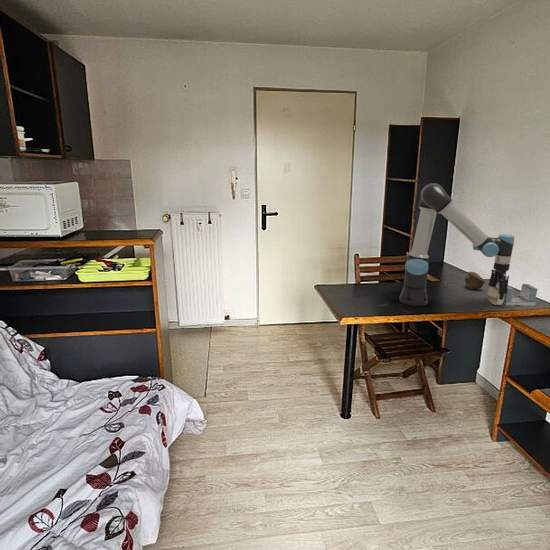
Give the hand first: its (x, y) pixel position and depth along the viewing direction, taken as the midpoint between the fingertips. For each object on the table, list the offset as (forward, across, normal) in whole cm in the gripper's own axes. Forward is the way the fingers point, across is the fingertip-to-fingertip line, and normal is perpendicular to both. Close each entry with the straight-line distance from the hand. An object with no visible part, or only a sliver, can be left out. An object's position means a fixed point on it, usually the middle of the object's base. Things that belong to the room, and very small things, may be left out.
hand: (495, 301), depth 224 cm
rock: (+1, +26, +1) cm, 26 cm away
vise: (+1, +2, -12) cm, 12 cm away
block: (0, 0, 0) cm, 0 cm away
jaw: (-1, +2, -6) cm, 6 cm away
